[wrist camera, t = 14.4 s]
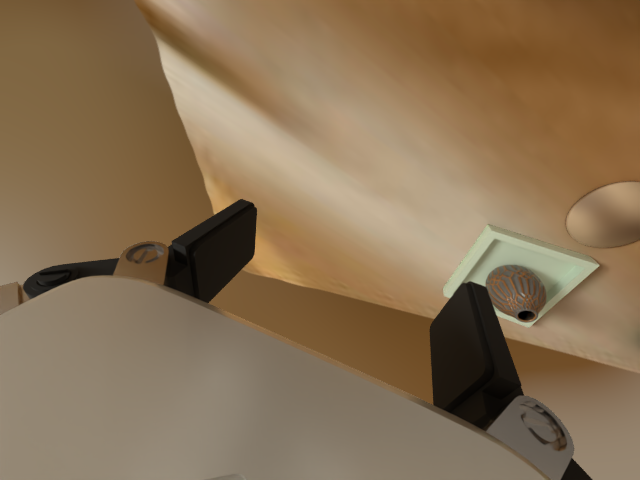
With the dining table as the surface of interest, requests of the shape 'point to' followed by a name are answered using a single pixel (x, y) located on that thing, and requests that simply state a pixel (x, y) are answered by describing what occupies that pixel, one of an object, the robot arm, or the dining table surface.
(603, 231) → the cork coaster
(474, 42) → the dining table surface
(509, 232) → the tray
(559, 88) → the dining table surface
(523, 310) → the vase
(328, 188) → the dining table surface
